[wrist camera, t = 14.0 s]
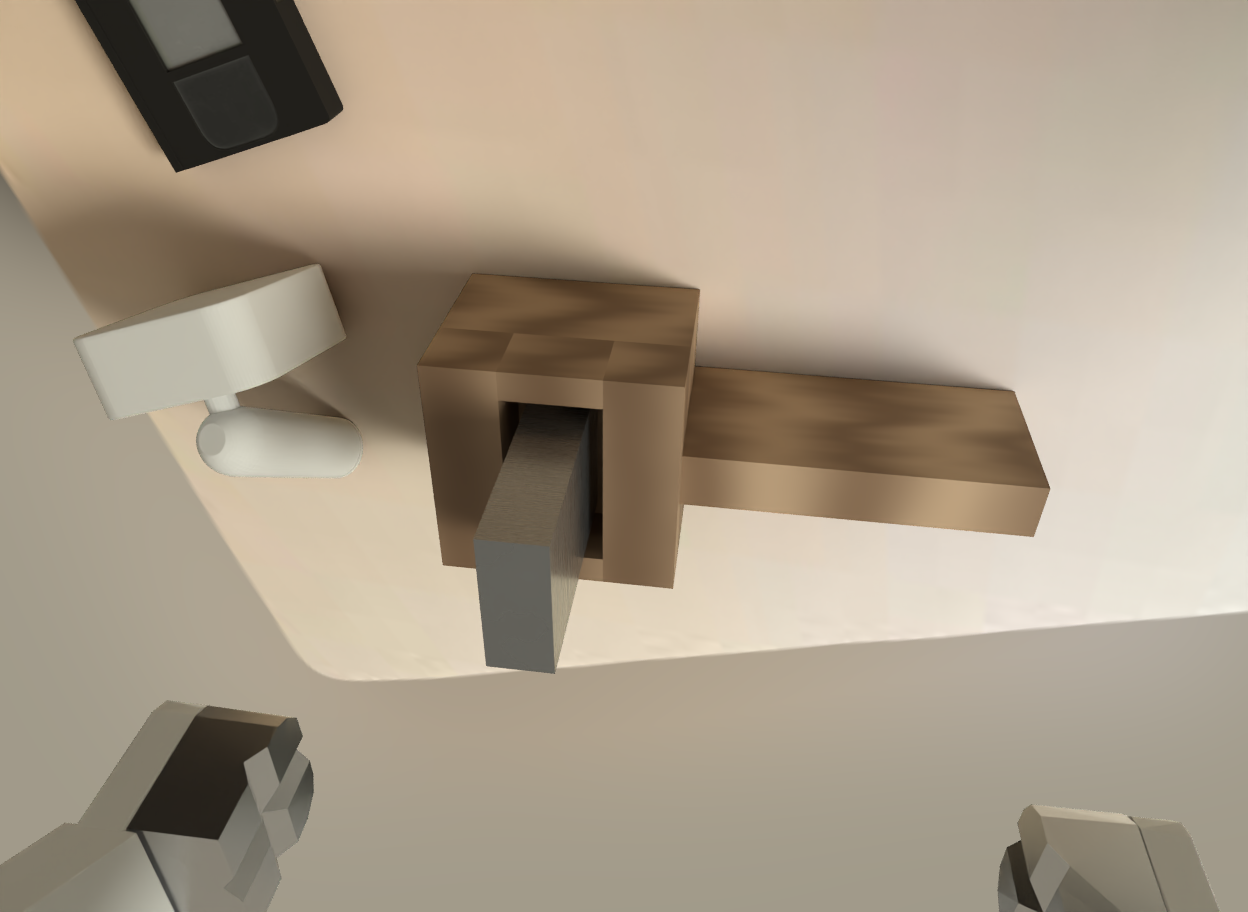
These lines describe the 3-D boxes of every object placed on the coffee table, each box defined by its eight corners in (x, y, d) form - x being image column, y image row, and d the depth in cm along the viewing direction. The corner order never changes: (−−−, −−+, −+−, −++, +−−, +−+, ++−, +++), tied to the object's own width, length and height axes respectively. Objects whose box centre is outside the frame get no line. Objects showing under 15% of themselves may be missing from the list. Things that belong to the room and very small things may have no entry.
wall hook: (284, 480, 50) (162, 574, 41) (205, 289, 47) (55, 344, 38) (421, 454, 48) (326, 547, 39) (350, 251, 45) (226, 300, 35)
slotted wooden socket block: (1037, 313, 40) (1086, 420, 33) (981, 502, 46) (1014, 623, 39) (472, 273, 42) (416, 365, 36) (488, 457, 48) (442, 565, 42)
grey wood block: (597, 384, 39) (549, 546, 31) (597, 500, 42) (554, 673, 34) (536, 379, 39) (473, 539, 31) (541, 495, 43) (486, 665, 34)
